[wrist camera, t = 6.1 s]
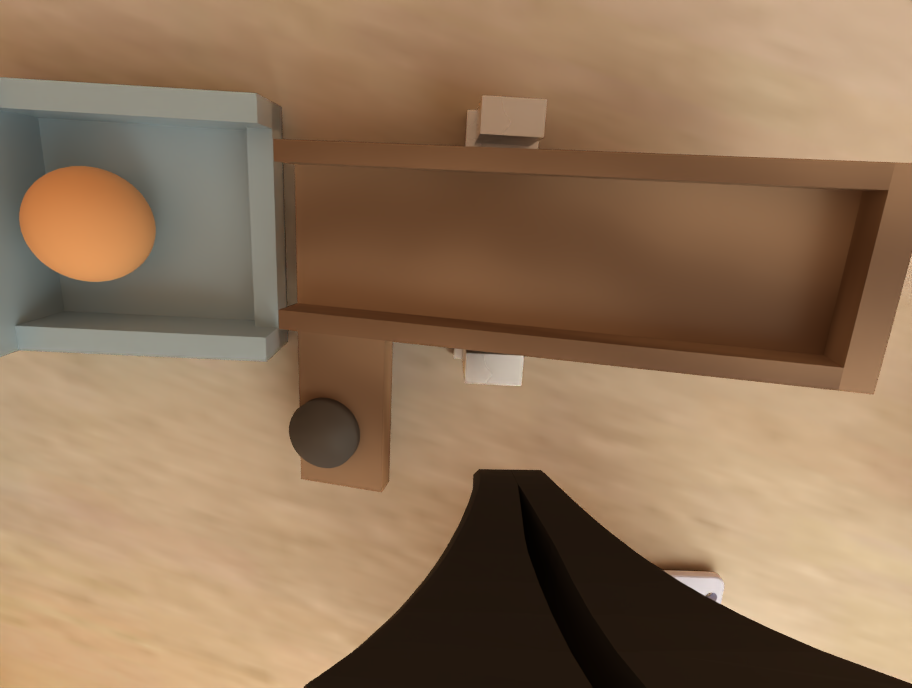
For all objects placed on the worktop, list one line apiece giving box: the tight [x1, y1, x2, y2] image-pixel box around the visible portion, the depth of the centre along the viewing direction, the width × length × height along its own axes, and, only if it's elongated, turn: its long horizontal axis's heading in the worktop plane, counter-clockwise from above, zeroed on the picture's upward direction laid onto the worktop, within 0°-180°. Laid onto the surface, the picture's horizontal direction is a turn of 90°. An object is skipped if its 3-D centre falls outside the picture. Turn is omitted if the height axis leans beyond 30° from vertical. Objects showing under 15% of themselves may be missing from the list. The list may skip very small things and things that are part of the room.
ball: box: [19, 166, 156, 282], centre depth 17 cm, size 4×4×4 cm
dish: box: [0, 77, 288, 362], centre depth 17 cm, size 8×9×4 cm
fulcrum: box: [454, 95, 547, 386], centre depth 18 cm, size 8×2×3 cm, turn 177°
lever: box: [273, 139, 912, 492], centre depth 17 cm, size 11×16×3 cm
